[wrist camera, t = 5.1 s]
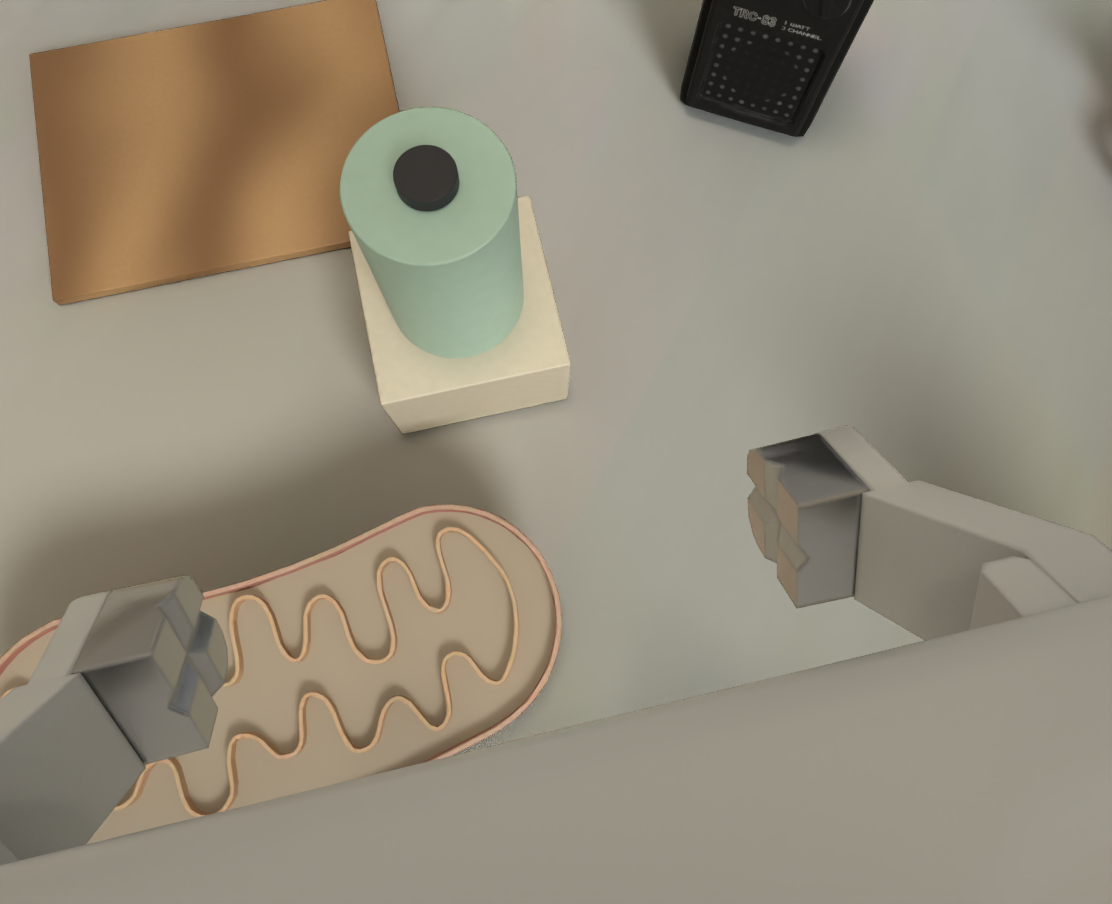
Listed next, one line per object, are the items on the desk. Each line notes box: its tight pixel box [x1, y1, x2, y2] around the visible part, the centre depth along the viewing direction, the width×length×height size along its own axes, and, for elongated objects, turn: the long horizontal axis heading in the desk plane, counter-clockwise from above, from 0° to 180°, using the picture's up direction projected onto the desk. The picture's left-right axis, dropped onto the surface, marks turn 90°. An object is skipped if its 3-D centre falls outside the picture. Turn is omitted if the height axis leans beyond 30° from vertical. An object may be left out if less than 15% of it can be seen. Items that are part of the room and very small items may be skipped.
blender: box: [340, 107, 571, 434], centre depth 31 cm, size 8×8×14 cm
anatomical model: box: [0, 505, 562, 844], centre depth 32 cm, size 23×10×5 cm, turn 108°
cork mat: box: [29, 0, 399, 305], centre depth 40 cm, size 18×14×1 cm
